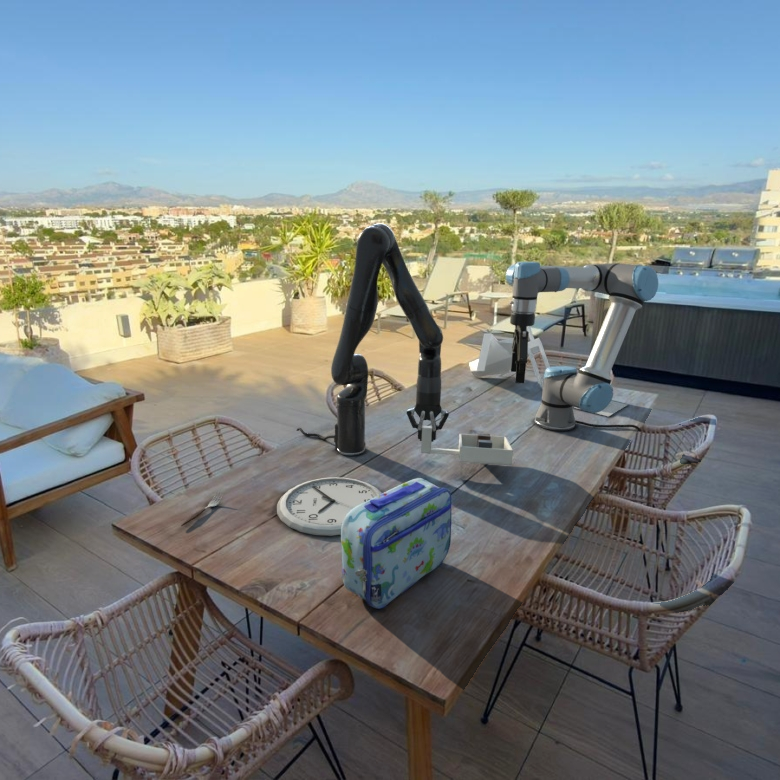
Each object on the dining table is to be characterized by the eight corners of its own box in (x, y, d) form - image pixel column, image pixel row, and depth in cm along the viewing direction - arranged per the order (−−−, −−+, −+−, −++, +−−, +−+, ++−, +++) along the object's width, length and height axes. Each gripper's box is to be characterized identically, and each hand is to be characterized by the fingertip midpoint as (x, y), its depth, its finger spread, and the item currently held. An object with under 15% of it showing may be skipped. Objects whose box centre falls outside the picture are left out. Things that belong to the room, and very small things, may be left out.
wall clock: (392, 527, 129) (269, 531, 127) (392, 533, 130) (269, 537, 127) (383, 473, 158) (282, 475, 155) (383, 478, 158) (283, 480, 156)
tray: (504, 450, 173) (506, 426, 172) (511, 465, 152) (513, 438, 151) (423, 444, 176) (424, 421, 176) (419, 459, 155) (420, 432, 155)
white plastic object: (489, 418, 267) (470, 395, 242) (471, 346, 289) (451, 318, 264) (561, 394, 254) (547, 368, 230) (535, 321, 277) (521, 289, 252)
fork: (176, 526, 131) (176, 519, 130) (217, 497, 145) (217, 491, 145) (185, 528, 130) (184, 521, 130) (225, 499, 145) (224, 492, 144)
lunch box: (370, 622, 101) (370, 527, 94) (335, 595, 108) (333, 505, 102) (455, 565, 118) (460, 481, 112) (420, 544, 125) (423, 465, 119)
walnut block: (488, 449, 171) (489, 434, 171) (489, 451, 167) (490, 436, 167) (476, 448, 172) (477, 433, 171) (477, 450, 168) (478, 435, 167)
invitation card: (608, 416, 214) (573, 407, 224) (608, 416, 214) (573, 407, 224) (627, 404, 229) (594, 396, 238) (627, 405, 229) (594, 397, 239)
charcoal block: (490, 456, 161) (491, 440, 160) (491, 459, 157) (492, 442, 156) (477, 455, 161) (478, 439, 161) (477, 458, 157) (478, 441, 157)
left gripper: (451, 386, 164) (449, 437, 169) (407, 384, 165) (405, 434, 170) (451, 393, 156) (448, 446, 161) (404, 390, 158) (403, 443, 163)
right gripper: (507, 306, 177) (502, 366, 183) (515, 318, 153) (509, 387, 159) (530, 306, 176) (524, 367, 182) (541, 319, 152) (534, 388, 159)
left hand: (426, 440), depth 166 cm, fingers closed on tray, 3 cm apart
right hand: (517, 377), depth 171 cm, fingers open, 13 cm apart
